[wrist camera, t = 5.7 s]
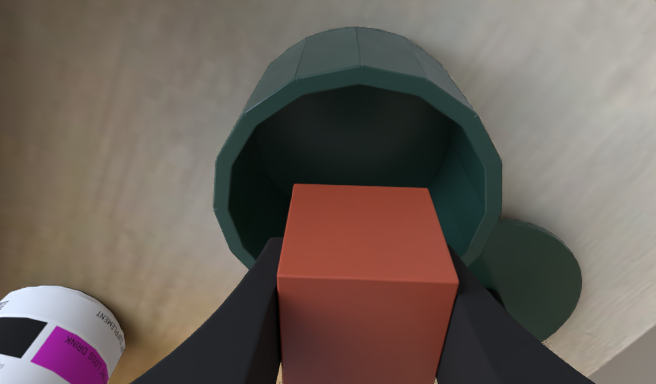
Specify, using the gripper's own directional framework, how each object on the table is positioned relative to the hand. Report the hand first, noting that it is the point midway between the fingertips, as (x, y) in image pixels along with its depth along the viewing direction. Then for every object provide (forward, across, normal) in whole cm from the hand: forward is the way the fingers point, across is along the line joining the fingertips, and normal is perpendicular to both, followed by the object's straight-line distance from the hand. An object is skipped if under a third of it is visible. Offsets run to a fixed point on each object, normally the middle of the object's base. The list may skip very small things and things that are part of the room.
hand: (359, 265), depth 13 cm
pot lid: (+9, -8, +10) cm, 15 cm away
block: (+2, 0, 0) cm, 2 cm away
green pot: (+9, 0, 0) cm, 9 cm away
